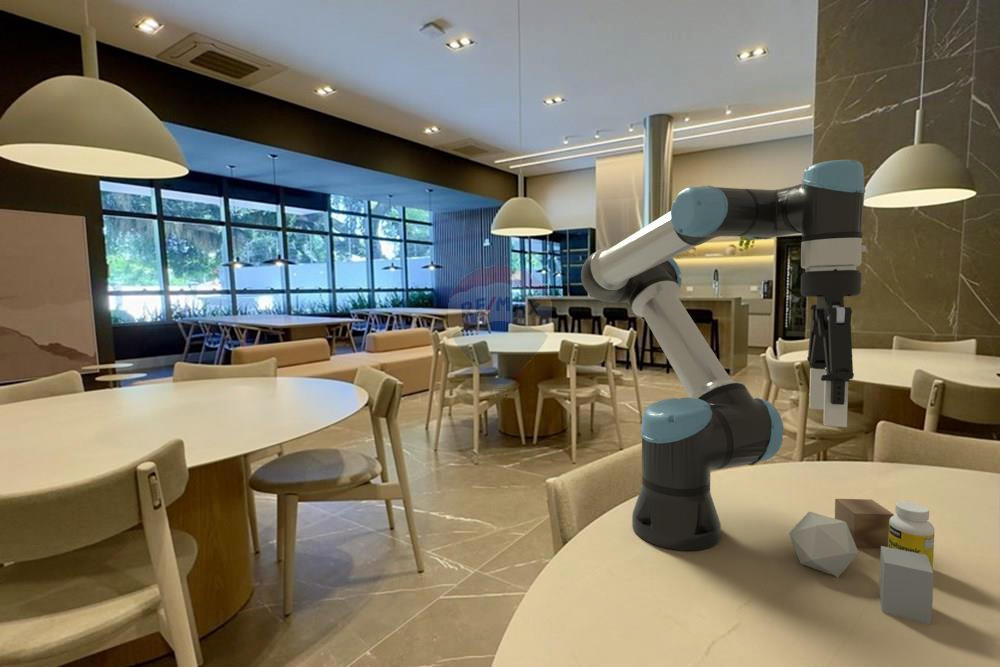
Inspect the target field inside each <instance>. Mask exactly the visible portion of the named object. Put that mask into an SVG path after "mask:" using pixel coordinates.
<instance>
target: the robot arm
mask: <svg viewBox="0 0 1000 667" xmlns="http://www.w3.org/2000/svg"><path fill="white" fill-rule="evenodd" d="M864 172H865V171H864V166H863V164H862V163H861V162H860V161H858V160H856V159H836V160H835V159H834V160H828V161H822V162H818V163H815V164H811V165H810V166H807V167H806V168H805V169H804V171H803V175H802V176H803V177H802V179H801V183H800V184H799V183H798V184H797V185H794V186H788V187H784V188H779V189H759V188H738V187H737V188H735V187H734V188H733V187H723V186H722V187H719V186H712V185H701V186H689V187H686V188H684V189H682V190H681V191H680V192H678V194H677V195H676V199H674V200H673V202H672V203H671V208H670V210H669V212H667V213H665V214H663V215H661V216H660V217H658V218H657V219H655V220H654V221H652V222H651V223H649V224H647V225H645V226H644V227H642V228H641V229H639V230H637V231H636V232H634V233H632V234H630V235H629V236H628V237H627V238H624V239H623V240H622V241H620V242H617V244H615V245H614V246H604V247H602V248H600V249H598V250H596V251H595V252H593V253H592V254H591V255H589V256H588V257H587V259H586V260H585V261H584V263H583V265H582V267H581V272H580V279H581V284H582V286H583V287H584V289H585V292H586V293H588V294H589V295H590V296H591V297H592V298H593V299H595V300H598V301H600V302H604V303H609V304H610V303H627V304H628V306H629V307H630V309H631V311H632V313H633V314H634V315H635V316H637V317H640V318H644V320H645V321H646V323H647V324H646V325H648V327H649V329H650V330H651V332H652V335H653V336H654V337H655V339H656V340H657V343H658V344H659V346H660V348H661V350H662V352H663V353H664V355H665V357H666V358H667V360H668V362H669V364H670V366H671V367H672V370H673V371H674V372H675V374H676V376H677V378H678V380H679V382H680V383H681V385H682V387H683V388H684V390H685V393H686V394H687V395H688V397H681V398H677V397H675V398H674V397H672V398H666V399H662V400H658V401H654V402H653V403H650V404H649V405H648V406H647V407H646V408H645V409H644V411H643V412H642V419H641V428H640V435H641V488H640V489H639V490H640V491H639V494H638V496H637V499H636V502H635V504H634V505H635V506H634V507H633V511H632V517H631V518H632V520H631V523H632V525H631V526H632V529H633V531H634V532H635V534H636V535H637V537H639V538H641V539H642V540H644V541H646V542H647V543H650V544H652V545H655V546H658V547H661V548H665V549H668V550H669V549H670V550H675V551H700V550H707V549H709V548H711V547H714V546H716V545H717V544H718V543H719V542H720V540H721V537H722V536H721V535H722V534H721V528H722V525H721V521H720V517H719V513H718V512H717V508H716V506H715V502H714V500H713V497H712V493H711V471H717V470H722V469H728V468H734V467H740V466H746V465H747V466H751V465H756V464H758V463H761V462H764V461H768V460H770V459H772V458H773V457H775V456H776V455H777V454H778V452H779V451H780V449H781V447H782V445H783V436H784V433H785V431H784V423H783V420H782V417H781V414H780V411H779V410H778V409H777V408H776V407H775V406H774V404H773V403H772V402H770V401H769V400H766V399H765V400H764V399H762V398H759V397H756V398H754V397H753V396H752V394H751V393H750V392H749V390H748V388H747V387H746V385H745V384H744V383H743V382H740V381H737V380H736V381H735V380H732V379H731V377H730V376H729V374H728V372H727V371H726V370H725V368H724V366H723V365H722V363H721V362H720V360H719V359H718V358H717V355H716V354H715V353H714V351H713V349H712V348H711V347H710V345H709V343H708V341H707V340H706V338H705V337H704V336H703V334H702V332H701V330H700V329H699V328H698V326H697V325H696V323H695V321H694V320H693V319H692V317H691V316H690V314H689V313H688V311H687V309H686V308H685V306H684V304H683V303H682V301H681V300H680V298H679V297H680V295H681V285H682V277H680V275H681V274H682V272H681V268H680V266H679V264H678V263H677V262H676V260H675V259H674V258H675V257H678V256H679V255H681V254H683V253H685V252H688V251H690V250H692V249H694V248H696V247H698V246H700V245H703V244H704V243H707V242H709V241H711V240H713V239H715V238H718V237H719V238H720V237H744V238H745V239H748V240H768V239H771V238H776V237H783V236H790V235H795V234H801V243H800V244H801V245H800V247H801V248H800V249H801V250H800V251H801V252H800V268H802V269H804V270H805V271H804V272H802V274H801V275H800V295H801V296H802V297H812V298H813V297H814V298H815V297H816V303H815V304H811V306H810V310H811V312H810V329H809V341H808V342H809V343H808V350H807V352H808V353H807V354H808V355H807V362H808V363H809V364H808V365H809V367H810V368H809V399H808V400H809V401H808V402H809V403H808V405H809V406H808V408H809V409H810V410H823V420H822V422H823V425H824V426H825V427H836V428H837V427H838V428H839V427H841V428H847V427H848V406H849V404H848V401H849V400H848V398H849V397H848V396H849V382H850V380H853V379H854V376H855V375H854V374H855V373H854V367H853V344H852V313H853V310H852V308H851V307H850V306H848V307H845V300H844V297H854V296H855V297H856V296H859V295H860V294H861V293H862V272H861V271H860V270H858V269H857V267H860V266H862V258H863V257H862V253H865V252H866V251H867V248H868V247H867V246H866V245H864V244H863V245H862V243H863V218H864V205H865V204H864V203H865V194H866V188H865V173H864Z"/></svg>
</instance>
